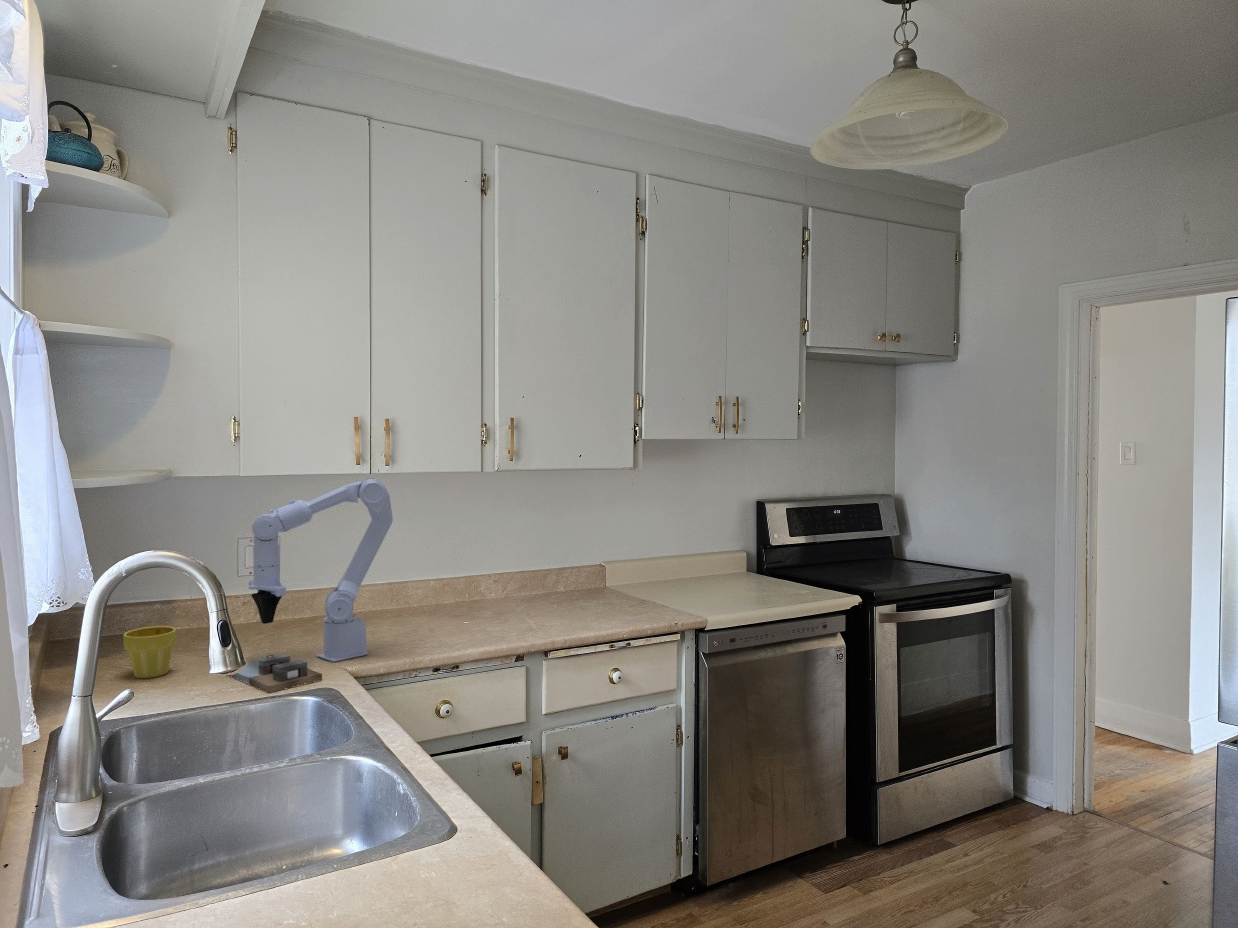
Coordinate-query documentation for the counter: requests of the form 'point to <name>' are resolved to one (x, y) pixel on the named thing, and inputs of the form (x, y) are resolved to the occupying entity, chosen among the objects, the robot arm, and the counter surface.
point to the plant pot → (150, 650)
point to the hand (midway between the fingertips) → (267, 622)
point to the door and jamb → (276, 673)
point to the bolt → (289, 673)
